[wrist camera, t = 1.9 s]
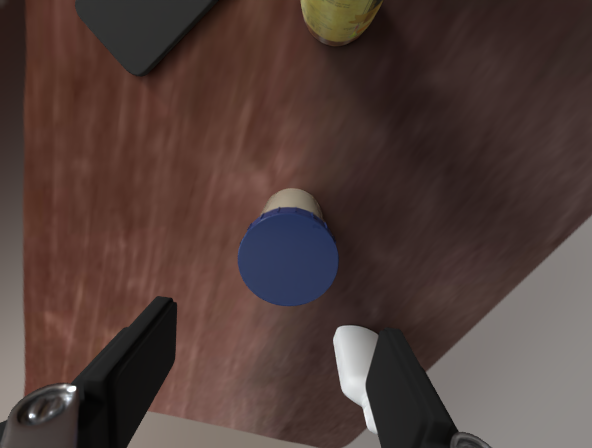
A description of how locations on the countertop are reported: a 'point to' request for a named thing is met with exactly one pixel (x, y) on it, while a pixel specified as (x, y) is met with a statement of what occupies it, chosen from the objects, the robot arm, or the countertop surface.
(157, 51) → the phone
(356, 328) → the eye dropper bottle
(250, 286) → the jar lid
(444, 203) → the countertop surface
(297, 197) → the mayonnaise jar
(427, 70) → the countertop surface
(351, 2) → the sauce bottle
